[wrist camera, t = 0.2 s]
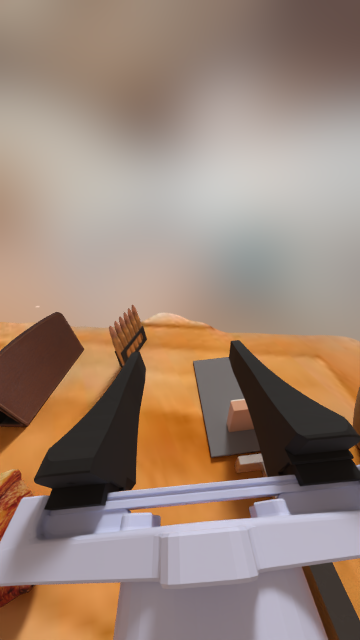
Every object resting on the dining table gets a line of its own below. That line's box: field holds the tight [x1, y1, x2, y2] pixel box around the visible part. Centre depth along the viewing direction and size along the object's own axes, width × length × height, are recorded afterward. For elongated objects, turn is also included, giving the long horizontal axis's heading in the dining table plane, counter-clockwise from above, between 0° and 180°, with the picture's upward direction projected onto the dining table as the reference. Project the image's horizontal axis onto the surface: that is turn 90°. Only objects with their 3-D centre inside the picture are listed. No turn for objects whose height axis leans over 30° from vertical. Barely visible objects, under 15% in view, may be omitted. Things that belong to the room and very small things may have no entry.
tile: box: [226, 399, 254, 432], centre depth 25 cm, size 2×7×7 cm, turn 94°
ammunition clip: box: [109, 305, 147, 367], centre depth 40 cm, size 11×2×12 cm, turn 162°
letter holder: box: [0, 312, 84, 427], centre depth 34 cm, size 10×20×14 cm, turn 177°
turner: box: [234, 454, 360, 640], centre depth 17 cm, size 12×8×5 cm
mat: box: [193, 357, 260, 458], centre depth 31 cm, size 18×14×1 cm
